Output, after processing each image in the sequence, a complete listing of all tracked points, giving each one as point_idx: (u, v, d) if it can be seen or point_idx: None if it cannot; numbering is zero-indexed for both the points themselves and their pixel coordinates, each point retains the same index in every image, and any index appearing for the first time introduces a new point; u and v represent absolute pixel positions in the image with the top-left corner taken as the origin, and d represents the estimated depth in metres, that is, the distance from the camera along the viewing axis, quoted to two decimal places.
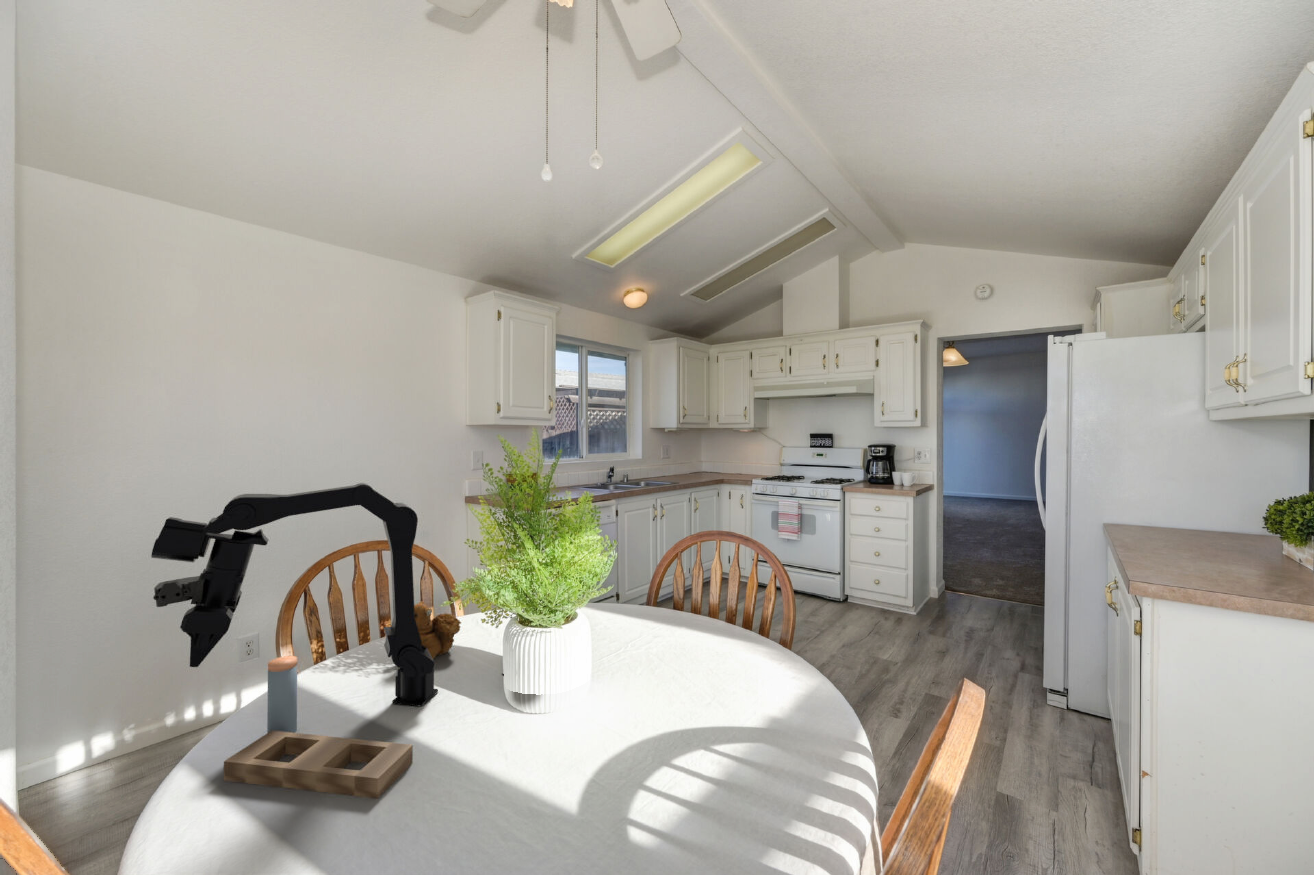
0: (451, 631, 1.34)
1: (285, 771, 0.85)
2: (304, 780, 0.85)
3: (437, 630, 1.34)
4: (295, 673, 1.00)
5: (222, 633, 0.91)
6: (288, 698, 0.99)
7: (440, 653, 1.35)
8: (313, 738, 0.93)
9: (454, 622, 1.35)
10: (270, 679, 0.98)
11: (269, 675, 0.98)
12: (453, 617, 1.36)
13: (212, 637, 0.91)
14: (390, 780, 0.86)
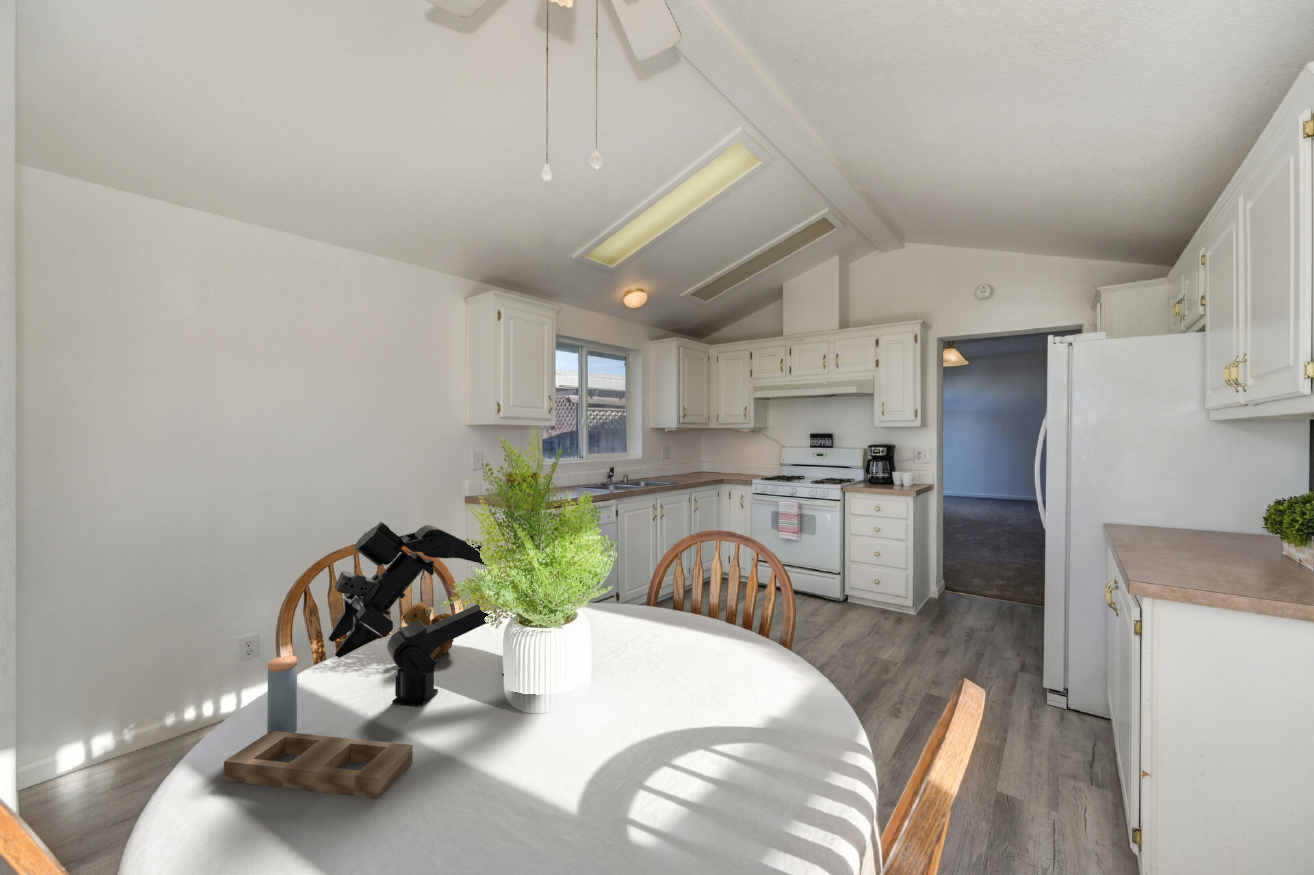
0: None
1: (285, 771, 0.85)
2: (304, 780, 0.85)
3: None
4: (295, 673, 1.00)
5: (379, 637, 1.02)
6: (288, 698, 0.99)
7: (440, 653, 1.35)
8: (313, 738, 0.93)
9: None
10: (270, 679, 0.98)
11: (269, 675, 0.98)
12: None
13: (366, 637, 1.03)
14: (390, 780, 0.86)
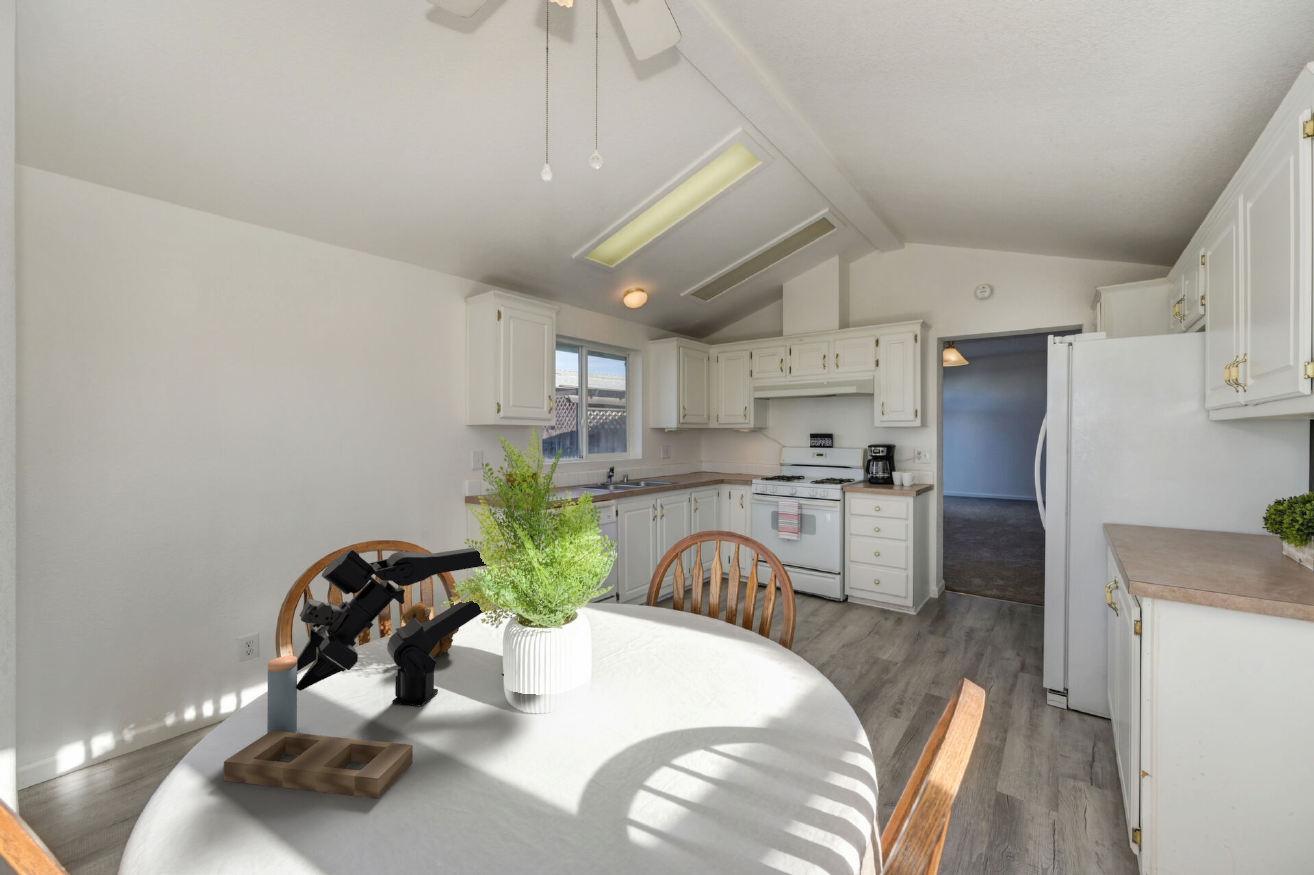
0: None
1: (285, 771, 0.85)
2: (304, 780, 0.85)
3: None
4: (295, 673, 1.00)
5: (342, 670, 0.99)
6: (288, 698, 0.99)
7: (439, 653, 1.35)
8: (313, 738, 0.93)
9: None
10: (269, 679, 0.98)
11: (269, 675, 0.98)
12: None
13: (330, 669, 0.99)
14: (390, 780, 0.86)
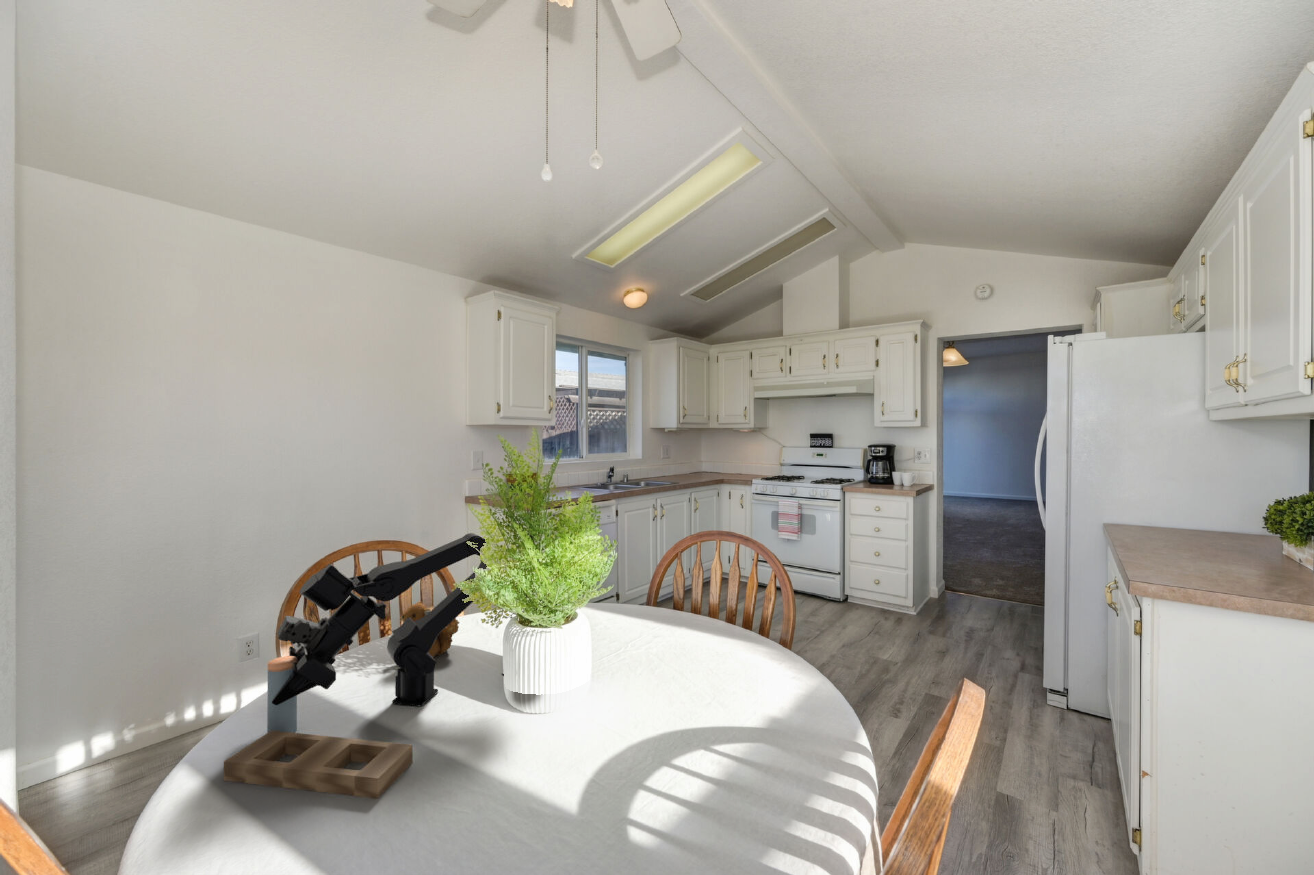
0: (449, 631, 1.34)
1: (285, 771, 0.85)
2: (304, 780, 0.85)
3: None
4: None
5: (319, 684, 0.99)
6: None
7: (438, 653, 1.35)
8: (313, 738, 0.93)
9: (452, 622, 1.35)
10: (269, 679, 0.98)
11: (269, 675, 0.98)
12: None
13: (306, 683, 0.99)
14: (390, 780, 0.86)
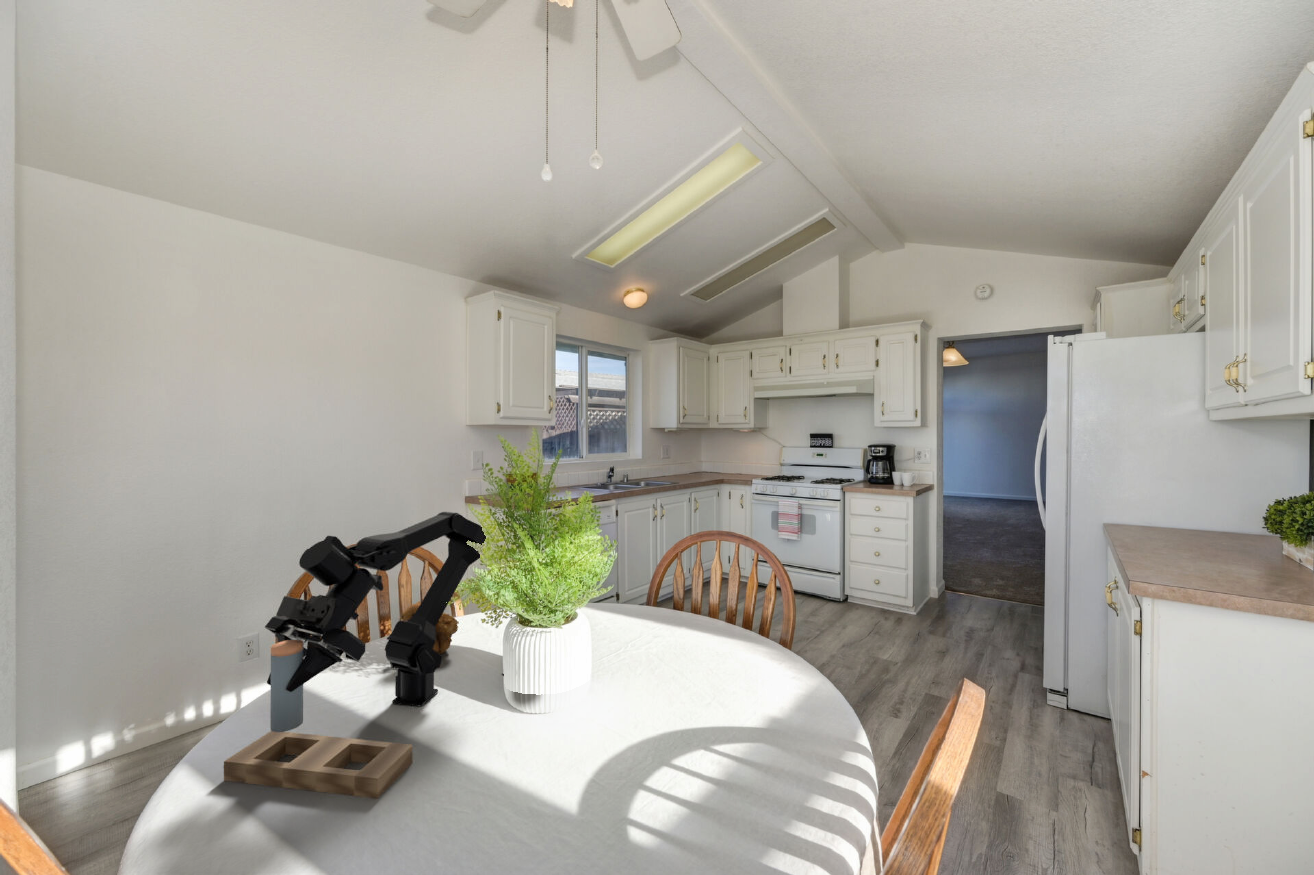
0: (449, 631, 1.34)
1: (285, 771, 0.85)
2: (304, 780, 0.85)
3: (435, 630, 1.34)
4: None
5: (340, 660, 0.92)
6: None
7: (438, 653, 1.35)
8: (313, 738, 0.93)
9: (452, 622, 1.35)
10: (279, 665, 0.88)
11: (277, 661, 0.88)
12: (451, 617, 1.36)
13: (323, 663, 0.91)
14: (390, 780, 0.86)
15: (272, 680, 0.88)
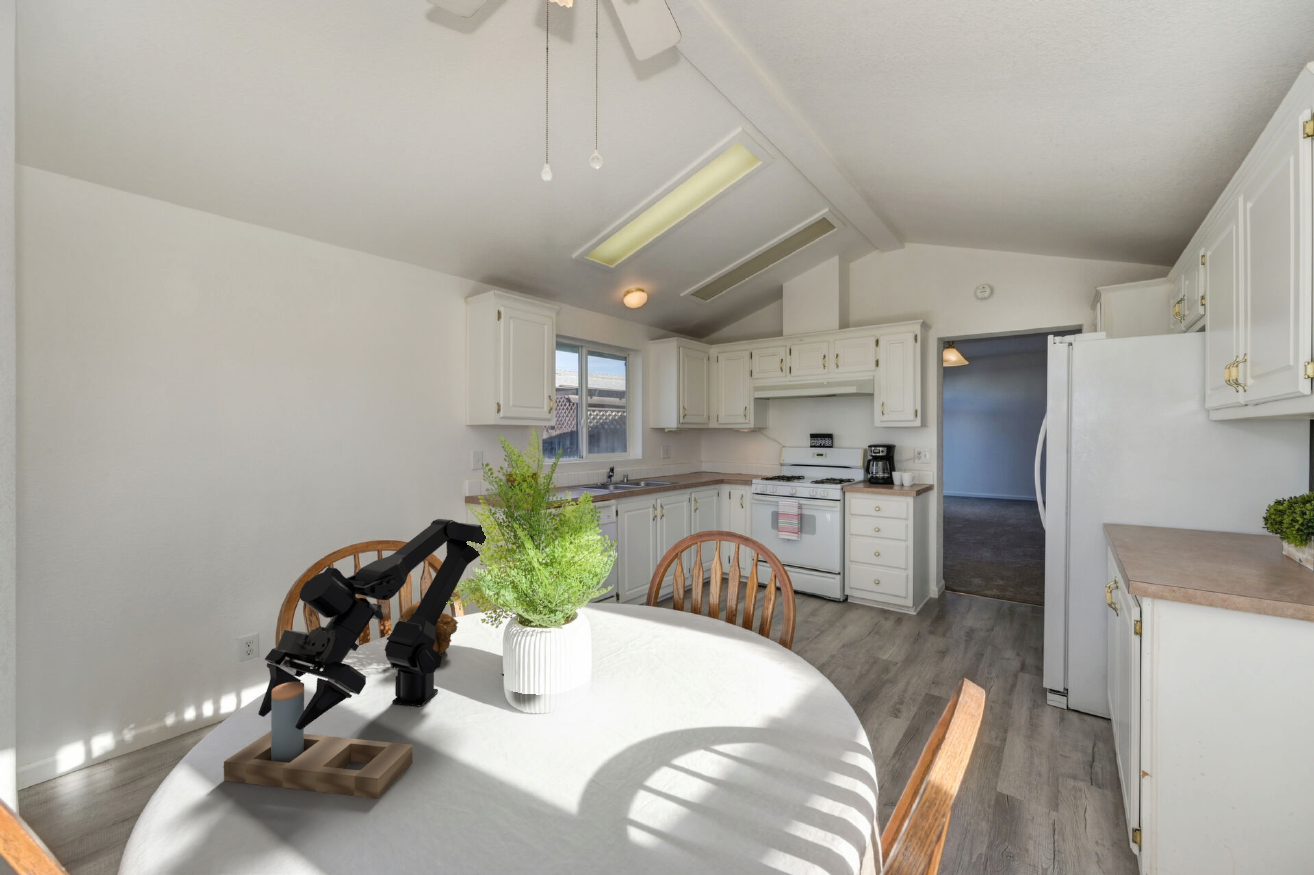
0: (448, 631, 1.34)
1: (285, 771, 0.85)
2: (304, 780, 0.85)
3: None
4: None
5: (350, 696, 0.91)
6: None
7: None
8: (313, 738, 0.93)
9: (451, 622, 1.35)
10: (280, 709, 0.88)
11: (278, 705, 0.88)
12: (450, 617, 1.36)
13: (333, 699, 0.91)
14: (390, 780, 0.86)
15: (273, 724, 0.88)
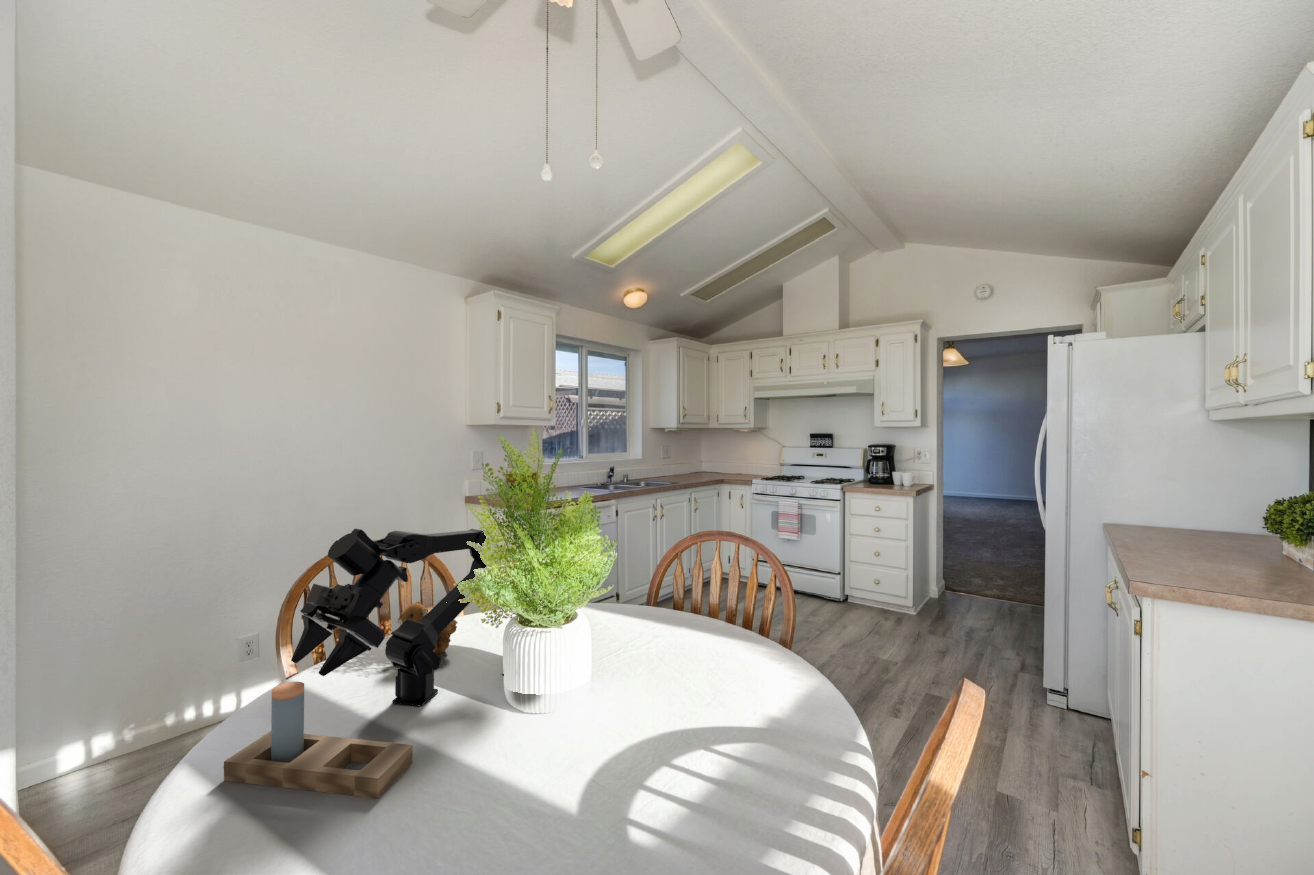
0: (447, 631, 1.34)
1: (285, 771, 0.85)
2: (304, 780, 0.85)
3: None
4: None
5: (369, 649, 0.97)
6: (301, 726, 0.90)
7: (436, 653, 1.35)
8: (313, 738, 0.93)
9: None
10: (280, 709, 0.88)
11: (278, 705, 0.88)
12: None
13: (354, 650, 0.97)
14: (390, 780, 0.86)
15: (273, 724, 0.88)
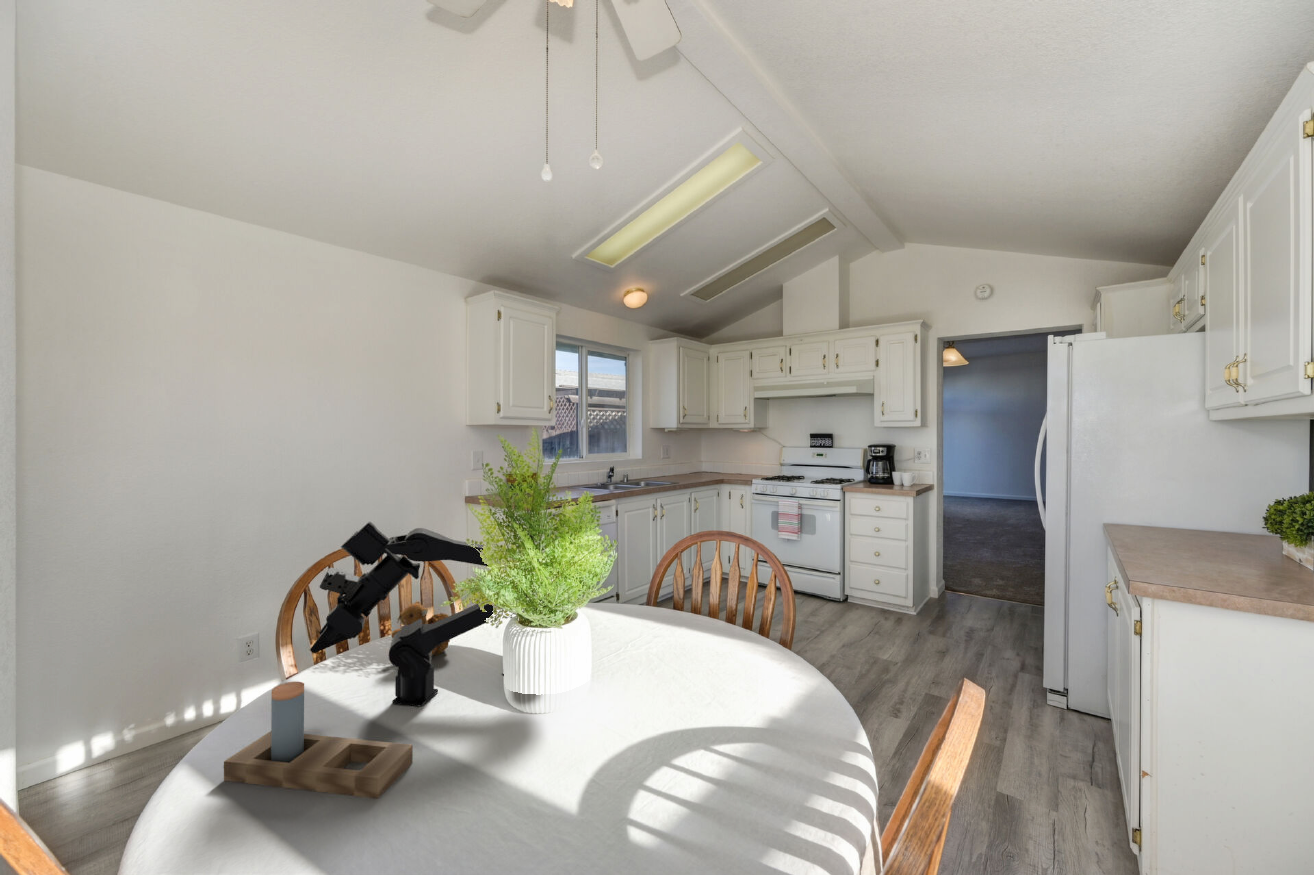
0: None
1: (285, 771, 0.85)
2: (304, 780, 0.85)
3: None
4: (303, 698, 0.91)
5: (349, 637, 1.02)
6: (301, 726, 0.90)
7: (436, 653, 1.35)
8: (313, 738, 0.93)
9: None
10: (280, 709, 0.88)
11: (278, 705, 0.88)
12: None
13: (339, 635, 1.03)
14: (390, 780, 0.86)
15: (273, 724, 0.88)
